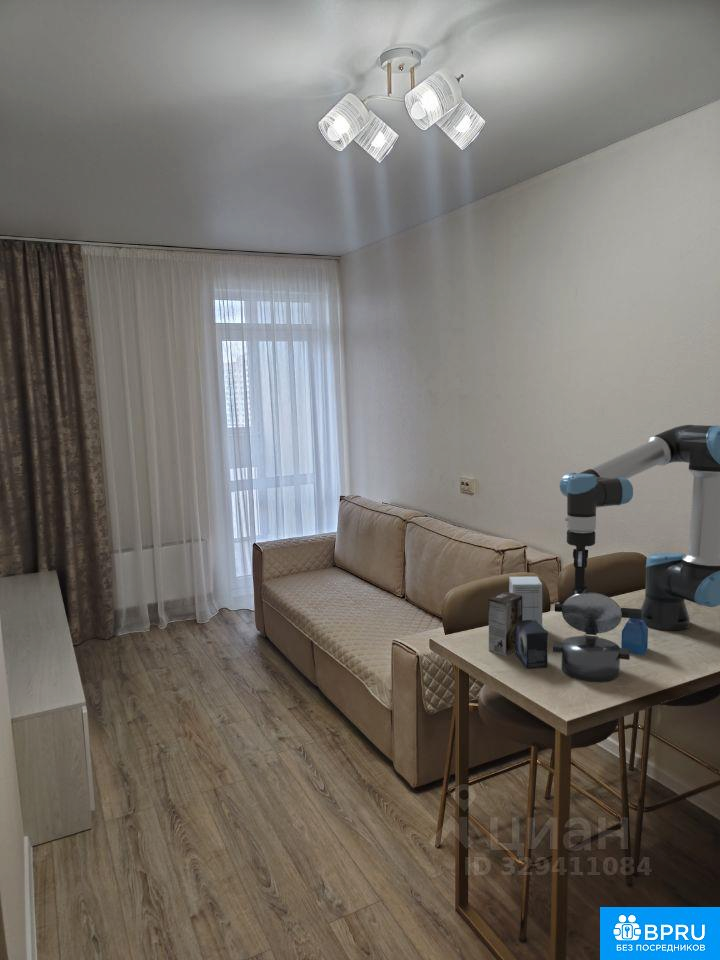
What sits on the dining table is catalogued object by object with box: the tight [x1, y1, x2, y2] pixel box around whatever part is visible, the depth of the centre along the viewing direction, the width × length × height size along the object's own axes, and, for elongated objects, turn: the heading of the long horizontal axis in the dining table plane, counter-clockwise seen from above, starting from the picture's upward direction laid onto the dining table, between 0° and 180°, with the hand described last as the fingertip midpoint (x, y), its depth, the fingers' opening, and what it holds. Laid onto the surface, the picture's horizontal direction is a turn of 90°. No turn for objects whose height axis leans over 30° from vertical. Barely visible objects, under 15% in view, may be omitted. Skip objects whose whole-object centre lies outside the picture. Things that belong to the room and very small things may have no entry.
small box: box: [514, 620, 549, 670], centre depth 186 cm, size 11×6×10 cm, turn 5°
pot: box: [551, 634, 631, 683], centre depth 180 cm, size 20×16×7 cm
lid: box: [554, 591, 642, 636], centre depth 182 cm, size 23×16×2 cm
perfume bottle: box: [620, 617, 649, 657], centre depth 192 cm, size 6×6×12 cm
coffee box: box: [488, 591, 522, 657], centre depth 195 cm, size 9×6×16 cm
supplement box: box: [508, 576, 543, 627], centre depth 210 cm, size 10×9×17 cm
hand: (579, 612), depth 185 cm, fingers closed
